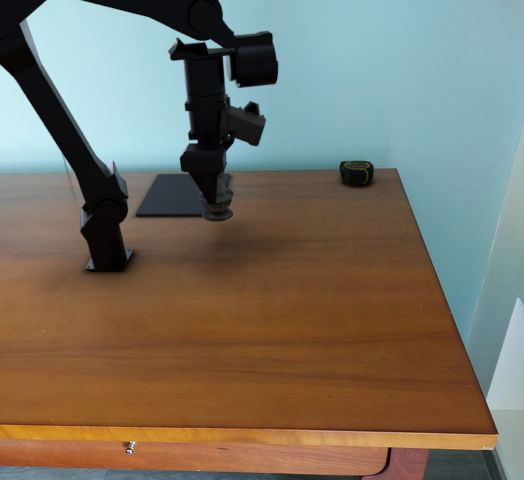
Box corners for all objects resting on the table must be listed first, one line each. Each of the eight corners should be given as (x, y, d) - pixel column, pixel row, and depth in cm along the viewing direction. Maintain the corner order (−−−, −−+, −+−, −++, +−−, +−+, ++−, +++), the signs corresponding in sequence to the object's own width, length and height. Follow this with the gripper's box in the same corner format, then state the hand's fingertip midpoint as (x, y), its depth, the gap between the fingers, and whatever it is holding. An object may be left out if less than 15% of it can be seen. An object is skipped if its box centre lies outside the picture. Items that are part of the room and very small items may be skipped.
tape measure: (370, 175, 113) (372, 157, 111) (374, 188, 108) (376, 170, 106) (338, 175, 114) (339, 158, 111) (341, 188, 109) (342, 170, 106)
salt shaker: (231, 205, 91) (226, 134, 84) (238, 219, 87) (233, 146, 79) (198, 209, 90) (189, 138, 83) (202, 224, 86) (194, 150, 78)
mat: (217, 216, 101) (217, 213, 100) (135, 216, 102) (135, 213, 101) (229, 175, 116) (229, 173, 116) (158, 176, 117) (158, 173, 117)
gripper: (256, 109, 68) (260, 220, 78) (265, 74, 83) (268, 172, 93) (171, 110, 69) (187, 220, 79) (195, 76, 84) (205, 172, 94)
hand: (215, 194), depth 86 cm, fingers closed on salt shaker, 7 cm apart
